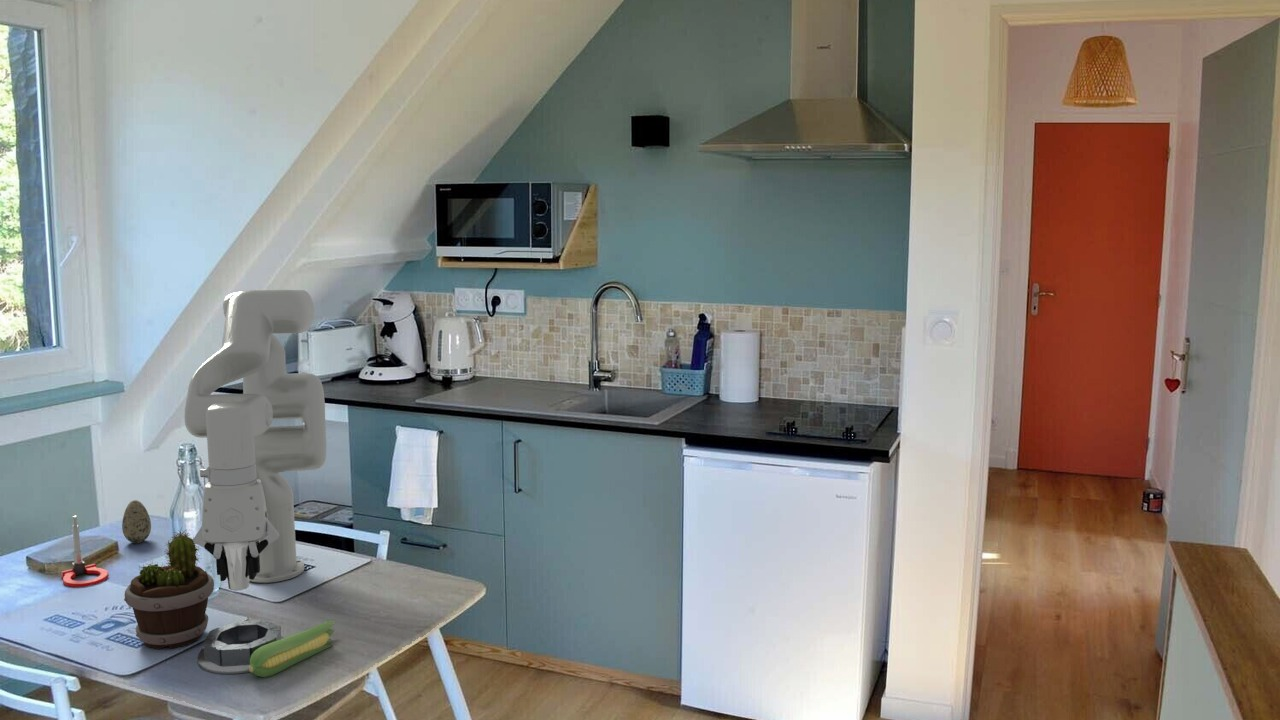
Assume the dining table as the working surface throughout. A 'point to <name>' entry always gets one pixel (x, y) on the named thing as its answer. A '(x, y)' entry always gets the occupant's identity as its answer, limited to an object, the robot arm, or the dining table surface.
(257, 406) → the robot arm
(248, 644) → the collar
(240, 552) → the milkshake
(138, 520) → the decorative egg
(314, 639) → the edible corn
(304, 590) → the dining table surface
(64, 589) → the dining table surface
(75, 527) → the tow hook
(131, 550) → the dining table surface
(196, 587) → the flowerpot
